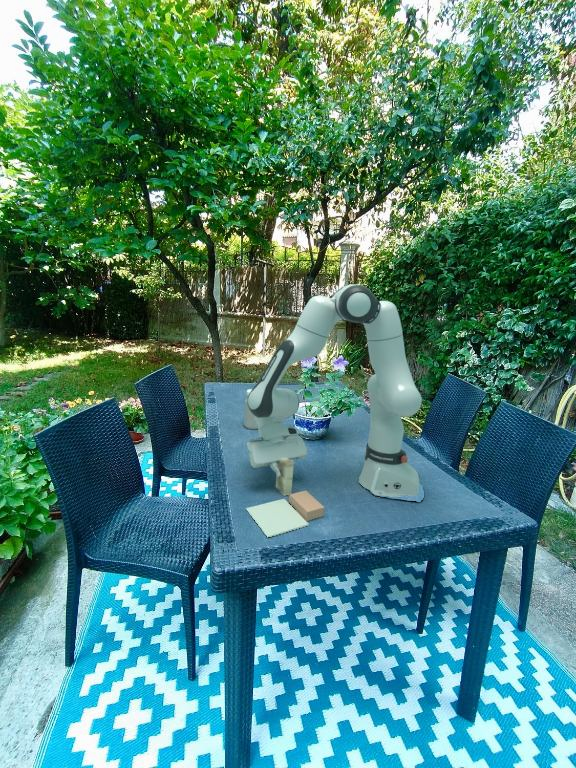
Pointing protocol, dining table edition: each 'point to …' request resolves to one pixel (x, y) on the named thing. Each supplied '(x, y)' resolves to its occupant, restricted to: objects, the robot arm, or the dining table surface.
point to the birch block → (285, 476)
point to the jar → (249, 416)
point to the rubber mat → (276, 517)
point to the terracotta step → (306, 505)
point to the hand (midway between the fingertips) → (285, 475)
